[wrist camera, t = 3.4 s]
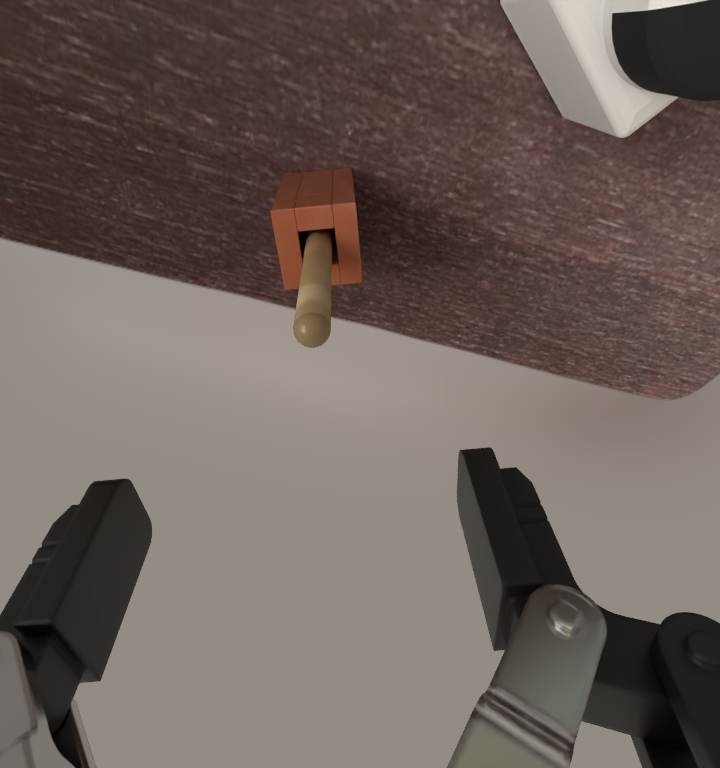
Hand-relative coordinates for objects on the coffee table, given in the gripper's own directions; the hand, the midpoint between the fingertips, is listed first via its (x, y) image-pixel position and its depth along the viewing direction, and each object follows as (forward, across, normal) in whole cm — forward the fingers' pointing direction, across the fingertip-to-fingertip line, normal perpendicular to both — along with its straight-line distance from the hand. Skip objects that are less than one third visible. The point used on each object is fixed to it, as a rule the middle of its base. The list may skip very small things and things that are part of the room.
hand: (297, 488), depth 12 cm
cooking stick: (+25, 0, 0) cm, 25 cm away
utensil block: (+25, 0, 0) cm, 25 cm away
